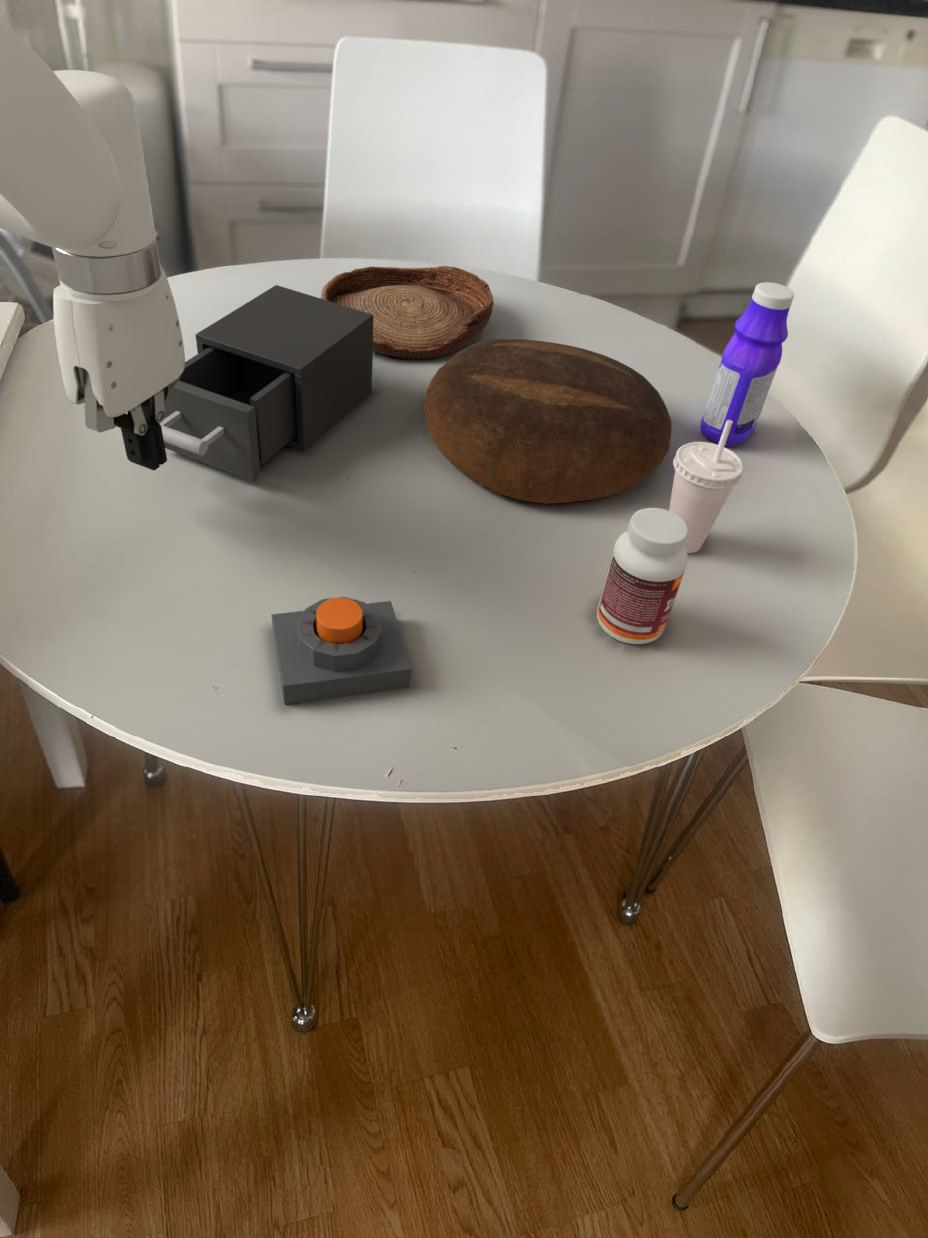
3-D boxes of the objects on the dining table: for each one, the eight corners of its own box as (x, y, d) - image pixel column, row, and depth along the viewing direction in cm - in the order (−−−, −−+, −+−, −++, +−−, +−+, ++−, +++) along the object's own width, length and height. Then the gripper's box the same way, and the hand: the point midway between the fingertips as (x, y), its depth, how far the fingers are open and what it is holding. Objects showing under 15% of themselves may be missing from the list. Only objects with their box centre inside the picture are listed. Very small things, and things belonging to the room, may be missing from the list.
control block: (284, 705, 69) (281, 670, 66) (273, 633, 74) (270, 598, 72) (409, 687, 71) (412, 653, 69) (390, 619, 77) (391, 584, 74)
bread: (653, 537, 88) (676, 464, 82) (391, 480, 91) (394, 406, 85) (671, 399, 109) (690, 332, 103) (457, 356, 112) (463, 288, 106)
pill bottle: (668, 650, 77) (703, 553, 69) (597, 643, 77) (625, 545, 69) (659, 602, 82) (691, 505, 74) (593, 595, 81) (618, 498, 74)
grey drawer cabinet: (304, 451, 94) (300, 369, 87) (205, 416, 97) (195, 334, 90) (372, 392, 104) (373, 314, 97) (280, 362, 107) (276, 284, 100)
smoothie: (697, 571, 85) (741, 447, 76) (639, 542, 88) (675, 418, 78) (725, 540, 89) (771, 419, 79) (669, 513, 92) (707, 392, 82)
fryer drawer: (228, 503, 85) (220, 433, 79) (132, 466, 88) (117, 396, 82) (325, 420, 97) (324, 354, 91) (238, 389, 100) (231, 324, 94)
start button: (320, 647, 69) (319, 631, 67) (313, 616, 71) (313, 600, 70) (366, 642, 70) (366, 626, 68) (358, 610, 72) (358, 595, 71)
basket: (347, 372, 106) (347, 334, 103) (300, 299, 119) (298, 263, 116) (514, 351, 114) (519, 314, 111) (453, 285, 127) (456, 250, 123)
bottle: (718, 413, 107) (765, 271, 95) (760, 432, 105) (814, 289, 93) (689, 435, 103) (734, 289, 91) (732, 455, 101) (784, 309, 89)
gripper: (134, 219, 74) (167, 412, 86) (-6, 283, 64) (55, 490, 76) (209, 242, 72) (231, 435, 85) (77, 311, 62) (125, 519, 75)
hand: (147, 461), depth 80 cm, fingers closed
